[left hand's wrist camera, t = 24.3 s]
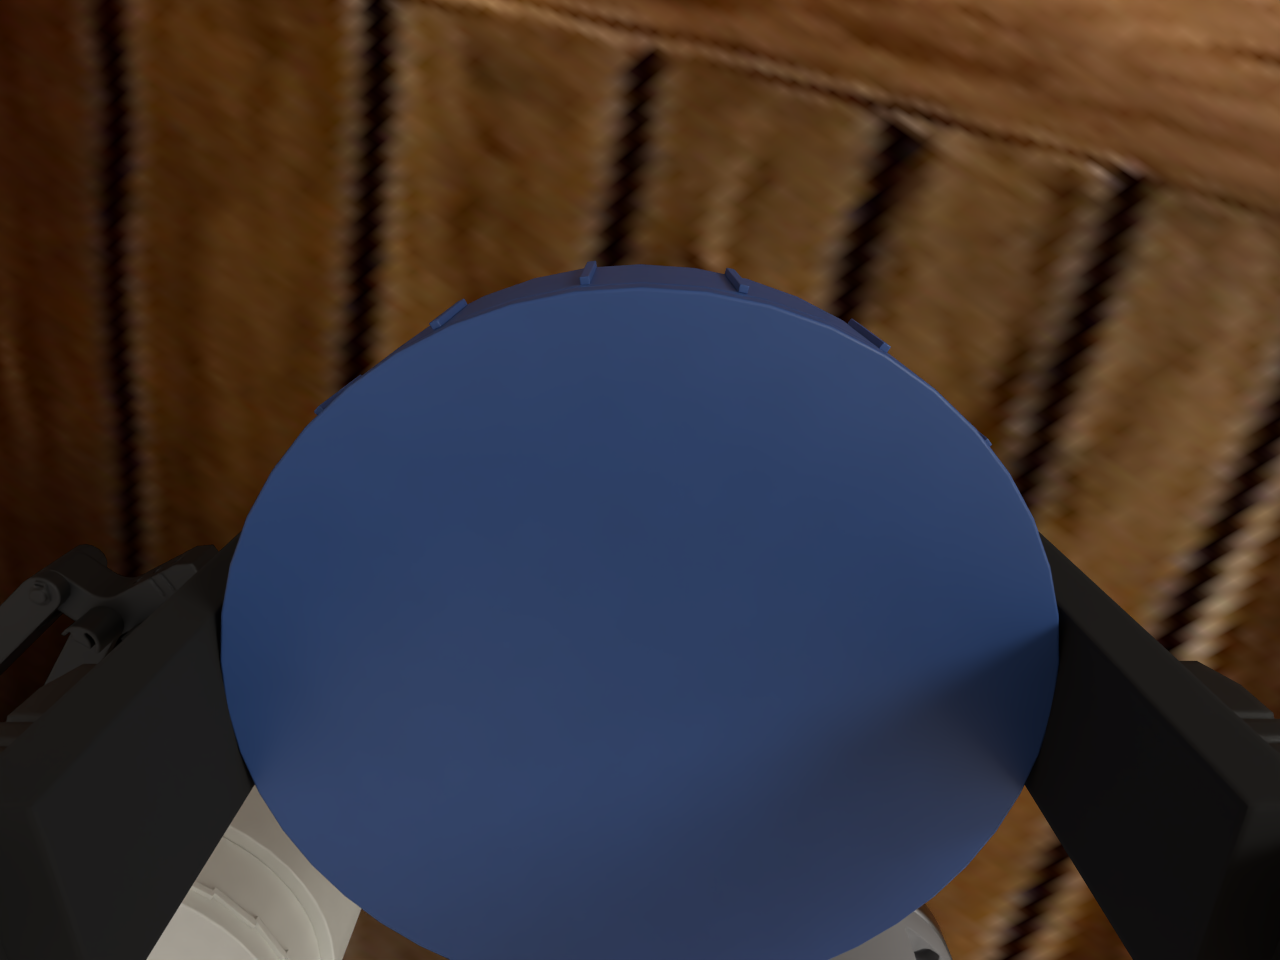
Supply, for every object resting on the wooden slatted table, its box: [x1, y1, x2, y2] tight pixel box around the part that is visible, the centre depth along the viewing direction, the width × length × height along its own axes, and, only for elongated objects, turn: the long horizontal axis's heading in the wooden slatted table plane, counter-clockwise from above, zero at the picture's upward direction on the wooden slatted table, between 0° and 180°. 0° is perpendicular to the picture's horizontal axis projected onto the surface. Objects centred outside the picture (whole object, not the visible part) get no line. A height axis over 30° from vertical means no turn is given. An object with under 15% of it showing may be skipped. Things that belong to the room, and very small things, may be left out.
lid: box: [220, 261, 1059, 960], centre depth 11 cm, size 11×11×2 cm
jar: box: [146, 785, 361, 960], centre depth 26 cm, size 9×9×17 cm
